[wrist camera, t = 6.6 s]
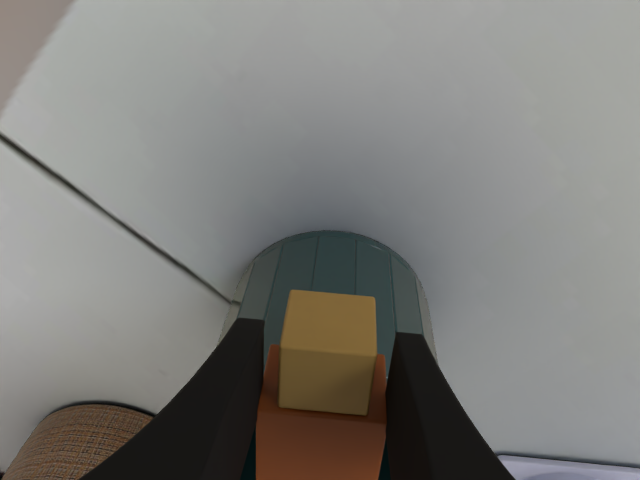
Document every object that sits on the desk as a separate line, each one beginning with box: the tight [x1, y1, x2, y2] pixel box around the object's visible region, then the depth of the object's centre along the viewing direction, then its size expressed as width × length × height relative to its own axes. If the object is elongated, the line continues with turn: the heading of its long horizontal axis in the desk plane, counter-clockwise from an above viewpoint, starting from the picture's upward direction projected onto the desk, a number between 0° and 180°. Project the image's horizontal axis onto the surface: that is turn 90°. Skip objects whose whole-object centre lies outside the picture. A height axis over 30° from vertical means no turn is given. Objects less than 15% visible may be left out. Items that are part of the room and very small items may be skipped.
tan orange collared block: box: [256, 290, 387, 480], centre depth 15 cm, size 8×3×2 cm, turn 177°
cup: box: [217, 231, 439, 480], centre depth 20 cm, size 8×8×8 cm
